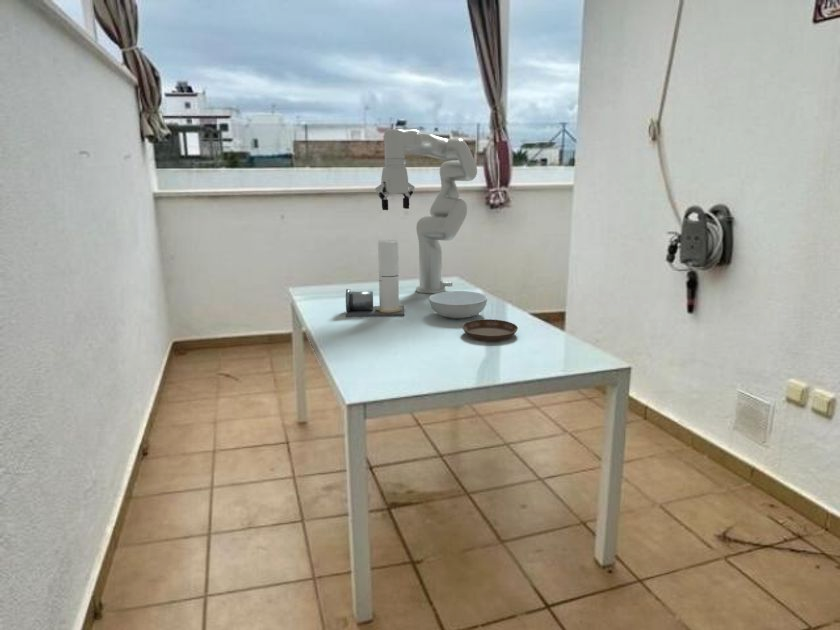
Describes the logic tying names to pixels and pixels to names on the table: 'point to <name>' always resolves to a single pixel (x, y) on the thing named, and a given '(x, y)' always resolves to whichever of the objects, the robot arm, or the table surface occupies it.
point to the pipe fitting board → (373, 313)
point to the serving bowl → (458, 303)
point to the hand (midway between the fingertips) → (395, 209)
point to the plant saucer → (489, 330)
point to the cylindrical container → (388, 275)
